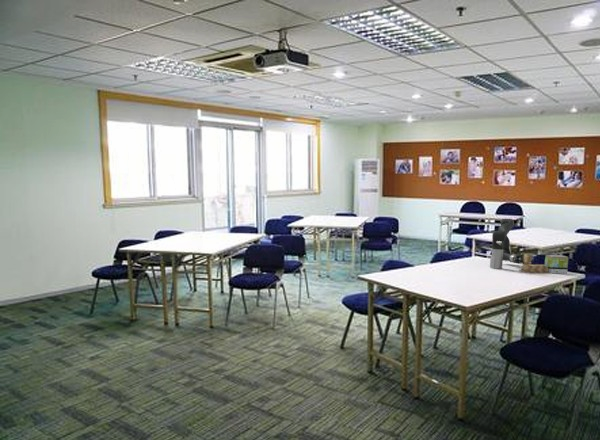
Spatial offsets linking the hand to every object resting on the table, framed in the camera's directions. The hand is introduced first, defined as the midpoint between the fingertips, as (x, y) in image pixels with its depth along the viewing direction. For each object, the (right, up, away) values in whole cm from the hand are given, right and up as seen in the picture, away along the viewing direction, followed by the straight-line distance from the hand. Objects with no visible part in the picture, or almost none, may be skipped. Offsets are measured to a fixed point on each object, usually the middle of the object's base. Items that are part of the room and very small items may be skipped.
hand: (527, 261), depth 404 cm
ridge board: (+1, -8, -9) cm, 12 cm away
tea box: (+20, -9, -7) cm, 23 cm away
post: (0, -7, +1) cm, 8 cm away
